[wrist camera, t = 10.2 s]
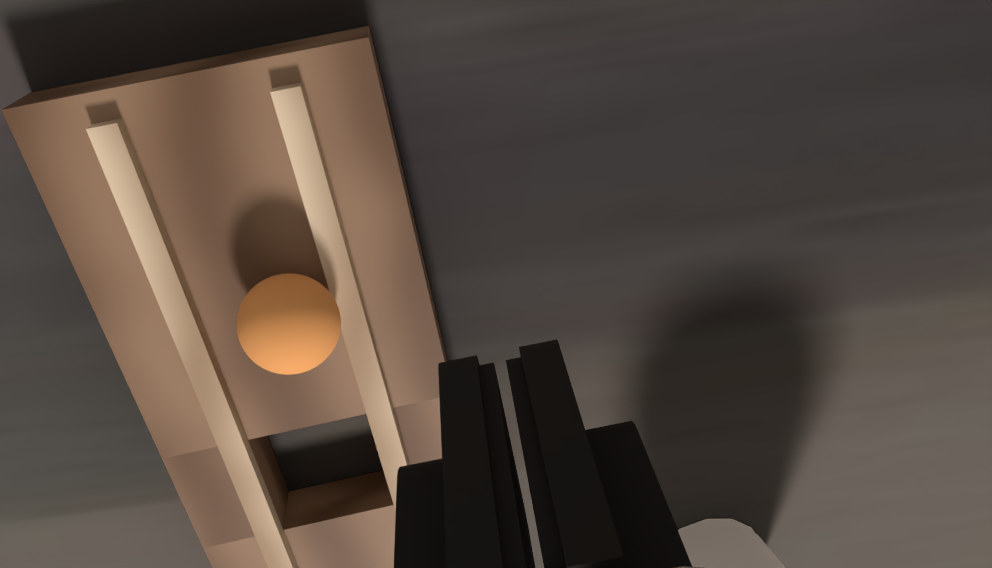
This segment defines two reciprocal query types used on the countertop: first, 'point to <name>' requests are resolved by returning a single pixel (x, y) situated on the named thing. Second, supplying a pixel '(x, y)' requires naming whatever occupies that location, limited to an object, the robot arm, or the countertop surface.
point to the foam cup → (726, 545)
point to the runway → (250, 278)
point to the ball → (288, 323)
